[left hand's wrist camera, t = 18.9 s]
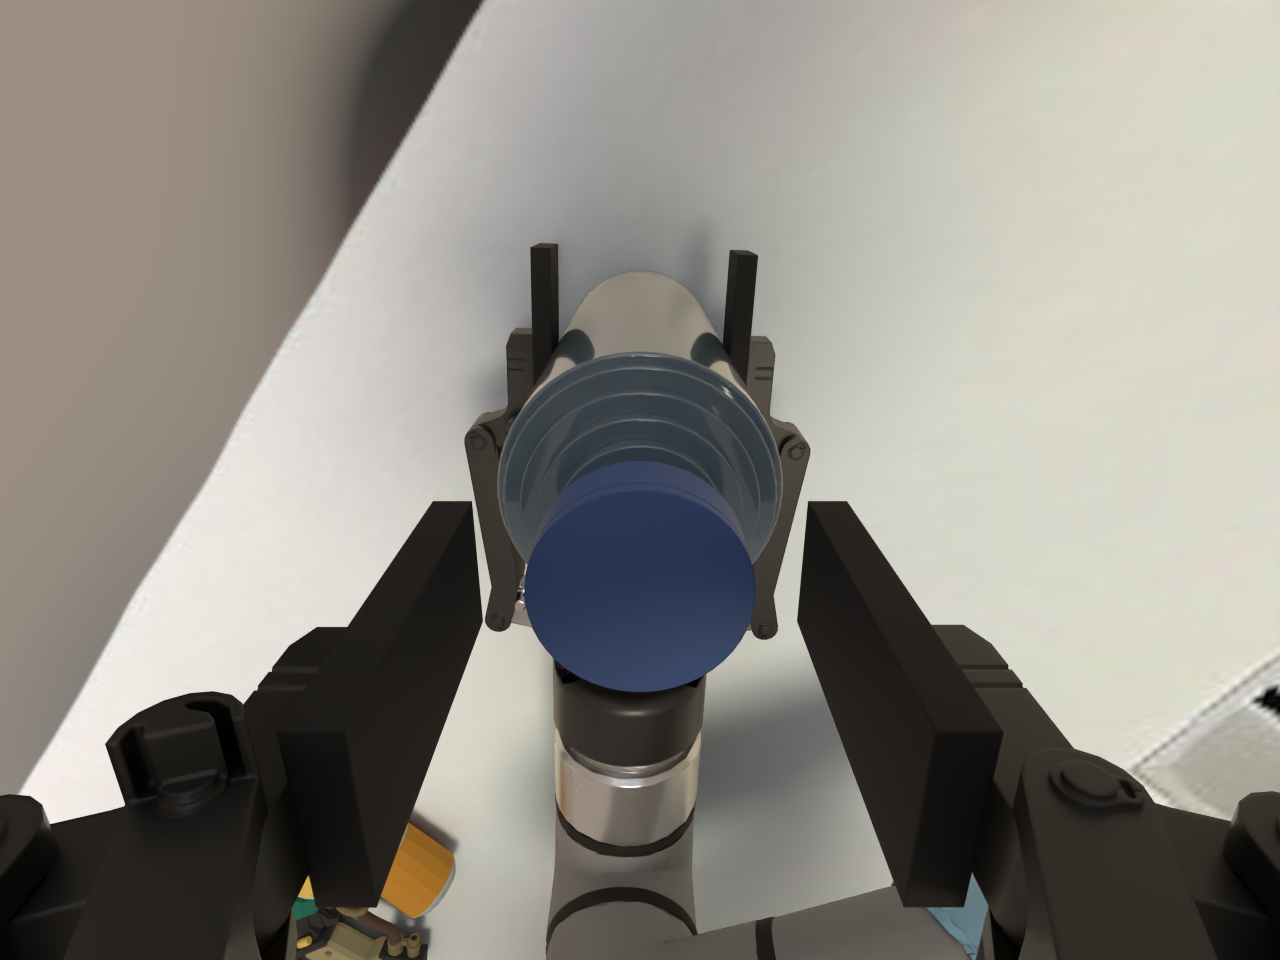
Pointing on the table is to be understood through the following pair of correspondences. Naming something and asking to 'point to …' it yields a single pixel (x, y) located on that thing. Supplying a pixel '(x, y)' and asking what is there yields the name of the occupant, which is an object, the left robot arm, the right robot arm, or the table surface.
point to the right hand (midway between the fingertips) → (644, 249)
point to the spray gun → (414, 886)
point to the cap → (640, 578)
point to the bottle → (640, 409)
